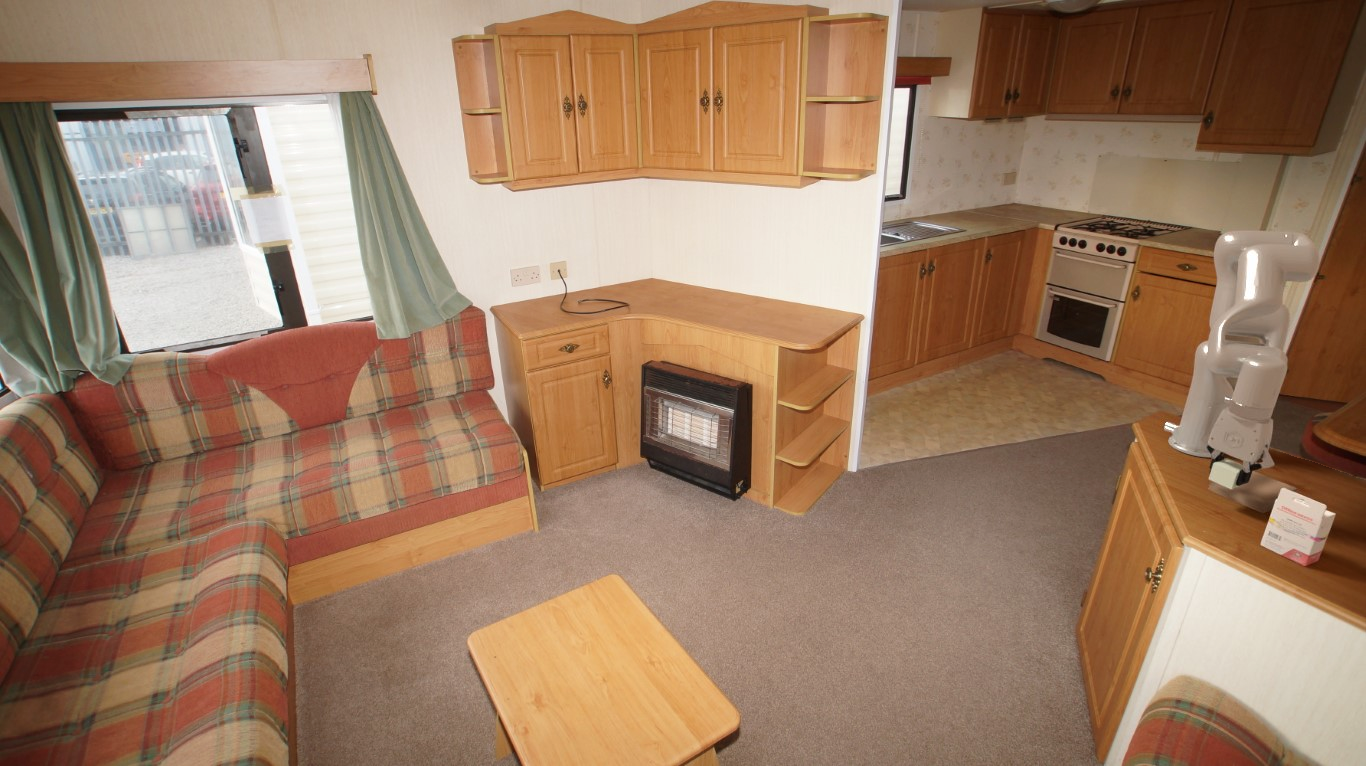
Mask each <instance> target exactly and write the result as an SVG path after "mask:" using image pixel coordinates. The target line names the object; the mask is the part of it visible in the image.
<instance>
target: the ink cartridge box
mask: <svg viewBox="0 0 1366 766" xmlns="http://www.w3.org/2000/svg"><path fill="white" fill-rule="evenodd" d="M1327 507H1328V506H1327V505H1326V504H1324V503H1322V502H1319V501H1317V500H1314V499H1313V498H1310V497H1308V496H1305V495H1302V494H1300V493H1298V492H1296V493H1295V492H1293V491H1290V490H1288V489H1286V488H1282V489H1281V491H1280V493H1279V496H1278V498H1277V499H1276V500H1275V504H1274V507H1273V509H1272V510H1271V512H1270V516H1269V519H1268V521H1267V525H1266V526H1265V527H1266V528H1265V530H1264V532H1263V536H1262V538H1261V541H1260V546H1261V547H1263V548H1266V549H1268V550H1269V551H1271V552H1273V553H1275V554H1278V555H1279V556H1282V557H1284V558H1286V559H1288V560H1290V561H1292V562H1295V563H1296V564H1298V565H1301V566H1303V567H1308V566H1310V565H1311V564H1314V563H1316V562H1318V561H1319V560H1320V557H1321V554H1322V553H1323V549H1324V547H1325V545H1326V542H1327V538H1328V537H1329V534H1330V532H1331V528H1332V526H1333V523H1334V521H1335V517H1336V513H1335V512H1332V511H1329V510H1327Z"/></svg>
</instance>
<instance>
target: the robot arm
mask: <svg viewBox="0 0 1366 766" xmlns="http://www.w3.org/2000/svg"><path fill="white" fill-rule="evenodd" d="M1213 264H1214V268H1215V275H1216V286H1215V291H1214V296H1213V300H1212V305H1211V311H1210V314H1209V327H1210V328H1209V329H1210V331H1209V334H1208V339H1207V340H1204V341H1202V342H1201V343H1199V344H1198V346H1197V347H1196V350H1195V354H1194V363H1193V364H1194V365H1193V374H1192V379H1191V383H1190V387H1189V391H1188V394H1187V397H1186V401H1185V404H1184V409H1183V413H1182V416H1181V420H1180V423H1179V424H1176V423H1174V422H1171V421H1166V423H1165V424H1164V428H1163V429H1164V431H1165V432H1169V433H1171V435H1170V436H1169V438H1168V444H1169V446H1170V447H1172V448H1173V449H1174V450H1177V451H1179V452H1182V453H1184V454H1187V455H1191V456H1194V457H1195V456H1196V457H1200V458H1211V460H1210V465H1209V467H1208V468H1209V475H1210V473H1211V469H1212V466H1213V463H1215V462H1218V461H1221V460H1224V459H1225V457H1224V456H1223V455H1224V454H1226V455H1228V456H1230V457H1232V458H1236V459H1238V460H1240V461H1242V464H1243V470H1240V471H1239V472H1240V473H1239V476H1238V479H1237V481H1236V485H1237V486H1241V485H1243V484H1246V483H1248V482H1249V480H1250V477H1251V474H1252V471H1257V470H1262V469H1268V468H1269V469H1270V468H1272V467H1274V466H1275V462H1274V460H1273V458H1272V456H1271V454H1270V452H1269V450H1270V449H1269V448H1270V445H1271V442H1272V436H1273V430H1274V419H1273V418H1272V415H1273V411H1274V409H1275V406H1276V403H1277V400H1278V397H1279V396H1280V395H1279V394H1280V393H1281V388H1282V387H1283V383H1284V380H1285V378H1286V375H1287V371H1288V362H1289V361H1288V359H1289V358H1288V355H1286V353H1285V352H1284V350H1285V345H1286V341H1287V336H1288V331H1289V327H1290V321H1291V320H1290V319H1291V317H1290V315H1291V314H1290V310H1289V308H1288V307H1287V306H1286V305H1285V304H1283V301H1284V284H1285V283H1284V282H1294V283H1296V282H1298V283H1306V282H1309V281H1311V280H1312V279H1314V277H1315V276H1316V275H1317V273H1318V270H1319V268H1320V253H1319V251H1318V249H1317V247H1316V244H1315V243H1314V242H1313V241H1312V240H1311V239H1310V238H1309V236H1307V234H1304V233H1302V232H1297V231H1276V230H1275V231H1274V230H1273V231H1271V230H1254V229H1253V230H1252V229H1251V230H1248V229H1247V230H1246V229H1244V230H1240V229H1239V230H1231V231H1230V230H1229V231H1226V232H1224V233H1223V234H1221V235H1220V236H1219V237H1218V238H1217V240H1216V242H1215V245H1214V251H1213ZM1226 335H1227V336H1236V337H1246V338H1254V339H1255V338H1256V339H1258V341H1259V343H1258V342H1247V341H1239V340H1229V339H1226ZM1228 378H1237V380H1236V383H1235V386H1234V389H1233V386H1232V385H1231V384H1230V382H1229V381H1228V380H1227V379H1228ZM1260 459H1261V460H1262V462H1257V461H1259V460H1260Z"/></svg>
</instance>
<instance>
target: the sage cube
mask: <svg viewBox="0 0 1366 766" xmlns="http://www.w3.org/2000/svg"><path fill="white" fill-rule="evenodd" d="M1240 470H1243V463H1239V462H1238V461H1236V460H1233V459H1230V458H1228V457H1226V458H1225V457H1224V460H1221V461H1218V462H1215V463H1213V466H1212V469H1211V473H1210V474H1209V476H1208V480H1209V481H1213V482H1216V483H1218V484H1220V485H1222V486H1225V487H1227V488H1229V489H1234V488H1236V487H1239V486H1237V485H1236V481H1237V479H1238V476H1239V473H1240V472H1239V471H1240Z"/></svg>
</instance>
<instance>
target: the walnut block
mask: <svg viewBox="0 0 1366 766" xmlns="http://www.w3.org/2000/svg"><path fill="white" fill-rule="evenodd" d="M1209 481H1210V482H1209V486H1208V488H1207V490H1208V491H1211V492H1213V493H1216V494H1217V495H1220V496H1222V497H1224V498H1225V499H1229V500H1231V501H1233V502H1235V503H1237V504H1240V505H1243V506H1245V507H1247V508H1249V509H1252V510H1253V511H1254V510H1255V511H1257V512H1258V513H1261V514H1265V513H1267V512H1270V511H1272V510H1273V507H1274V504H1275V500H1276V499H1277V498H1278V496H1279V493H1280V491H1281V489H1282V488H1286V489H1288V490H1290V491H1293V492H1295V493H1297V492H1298V491H1297V490H1298V487H1295V486H1293V485H1290V484H1287V483H1285V482H1282V481H1281V480H1277V479H1276V478H1275V479H1274V478H1272V477H1270V476H1267V475H1265V474H1262V473H1260V472H1257V471H1256V470H1254V471H1252V474H1251V477H1250V480H1249V482H1248V483H1246V484H1243V485H1241V486H1239V487H1236V488H1234V489H1229V488H1227V487H1225V486H1222V485H1220V484H1218V483H1216V482H1213V481H1211V480H1209Z"/></svg>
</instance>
